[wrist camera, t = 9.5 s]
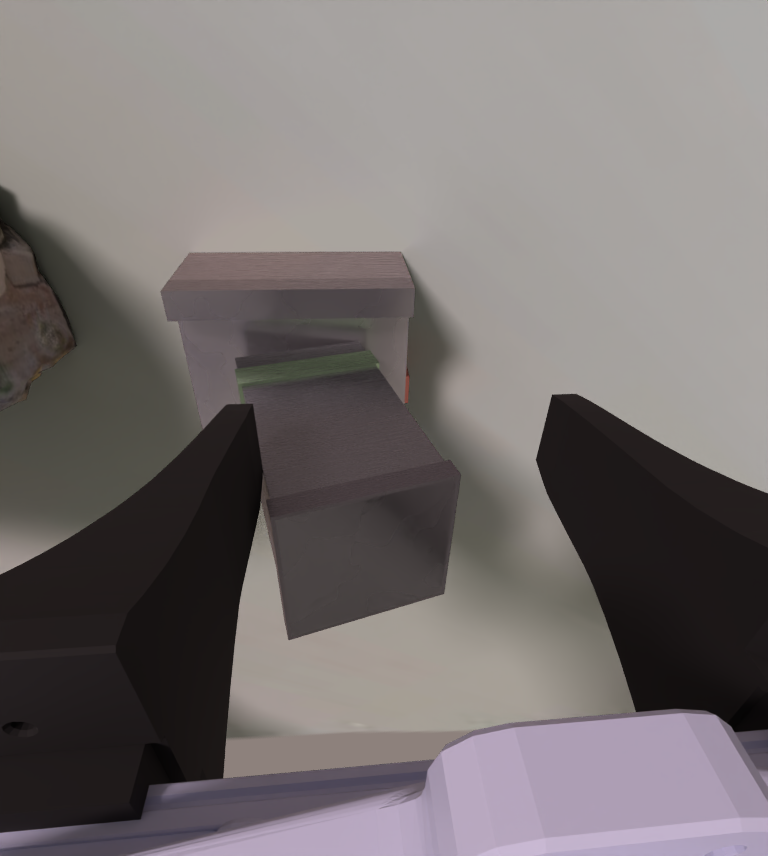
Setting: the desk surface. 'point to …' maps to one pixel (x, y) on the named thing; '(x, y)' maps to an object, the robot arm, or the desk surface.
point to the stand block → (287, 312)
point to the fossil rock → (26, 320)
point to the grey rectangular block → (346, 486)
